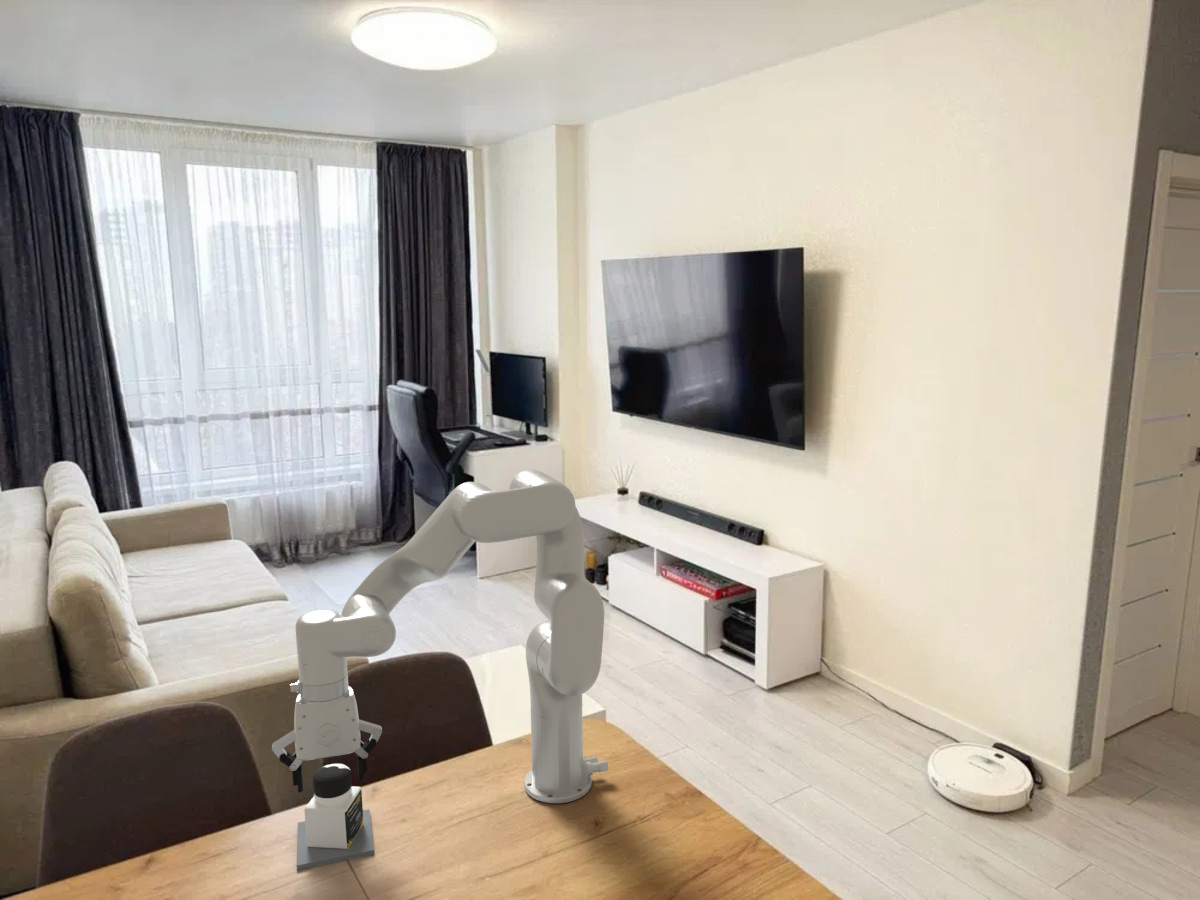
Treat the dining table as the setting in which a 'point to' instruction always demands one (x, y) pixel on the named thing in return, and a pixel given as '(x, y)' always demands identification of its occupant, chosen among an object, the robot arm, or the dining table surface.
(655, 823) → the dining table surface
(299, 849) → the slate mat
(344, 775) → the medicine bottle
